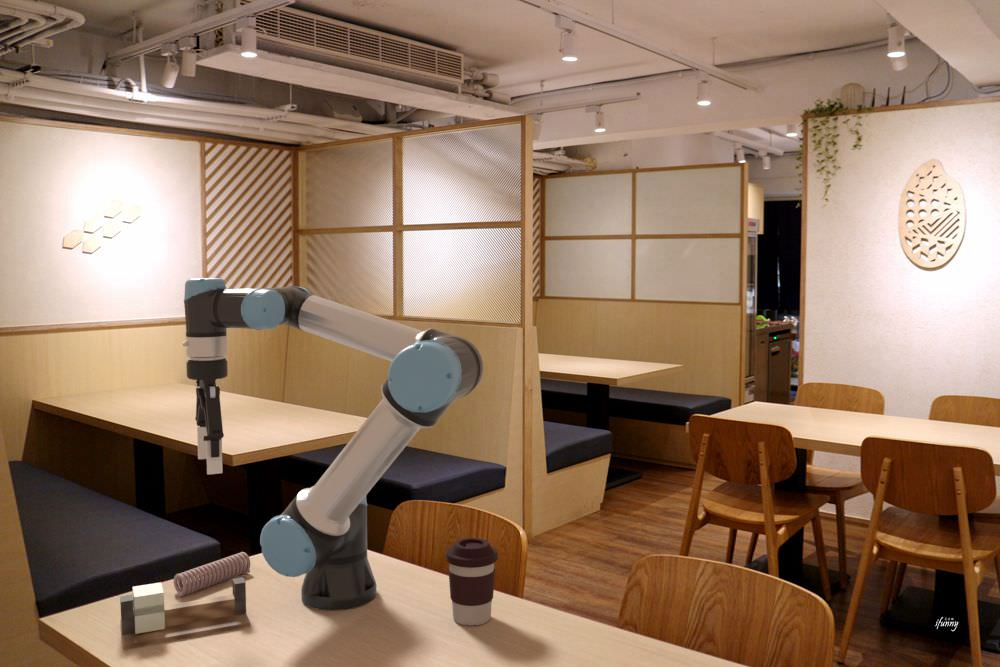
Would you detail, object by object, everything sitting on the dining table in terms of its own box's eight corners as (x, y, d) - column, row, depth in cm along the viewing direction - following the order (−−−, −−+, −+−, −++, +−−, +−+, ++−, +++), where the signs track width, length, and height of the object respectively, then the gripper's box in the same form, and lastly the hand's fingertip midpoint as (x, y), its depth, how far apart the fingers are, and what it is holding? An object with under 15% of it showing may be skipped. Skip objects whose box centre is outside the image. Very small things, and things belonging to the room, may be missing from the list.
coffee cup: (508, 618, 166) (508, 542, 165) (471, 634, 159) (471, 555, 158) (471, 604, 173) (471, 531, 172) (435, 619, 166) (435, 543, 165)
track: (239, 603, 173) (239, 569, 173) (250, 626, 163) (249, 590, 162) (120, 623, 164) (119, 588, 163) (123, 649, 153) (122, 611, 152)
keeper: (162, 617, 164) (161, 582, 163) (164, 628, 159) (163, 592, 158) (133, 622, 162) (132, 586, 161) (135, 634, 157) (134, 597, 156)
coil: (183, 579, 175) (254, 554, 190) (169, 572, 178) (240, 548, 193) (183, 600, 176) (253, 574, 191) (169, 593, 179) (239, 568, 193)
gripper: (179, 352, 176) (182, 454, 178) (194, 366, 154) (197, 482, 156) (217, 350, 180) (220, 451, 181) (237, 363, 157) (240, 478, 159)
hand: (209, 465), depth 169 cm, fingers open, 13 cm apart
